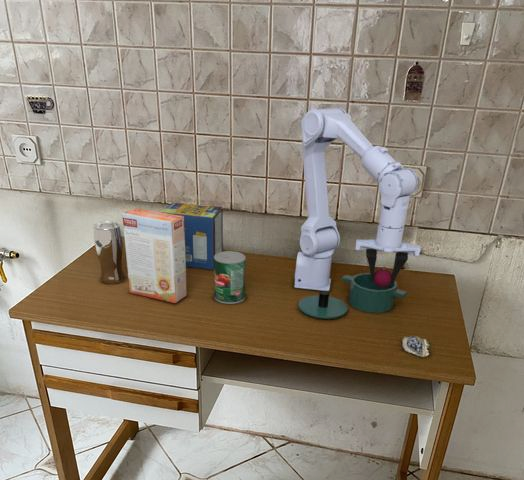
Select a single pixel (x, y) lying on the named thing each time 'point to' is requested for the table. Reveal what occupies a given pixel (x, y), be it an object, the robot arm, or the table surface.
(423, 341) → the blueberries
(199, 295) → the table surface
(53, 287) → the table surface
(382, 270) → the beet
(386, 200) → the robot arm
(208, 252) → the protein box
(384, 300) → the pot
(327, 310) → the lid
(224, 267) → the canned tomato
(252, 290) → the table surface
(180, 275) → the cracker box
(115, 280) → the beer glass
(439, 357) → the table surface
